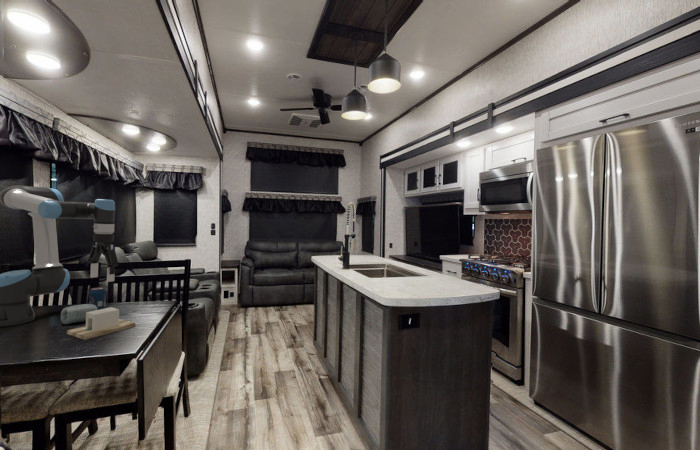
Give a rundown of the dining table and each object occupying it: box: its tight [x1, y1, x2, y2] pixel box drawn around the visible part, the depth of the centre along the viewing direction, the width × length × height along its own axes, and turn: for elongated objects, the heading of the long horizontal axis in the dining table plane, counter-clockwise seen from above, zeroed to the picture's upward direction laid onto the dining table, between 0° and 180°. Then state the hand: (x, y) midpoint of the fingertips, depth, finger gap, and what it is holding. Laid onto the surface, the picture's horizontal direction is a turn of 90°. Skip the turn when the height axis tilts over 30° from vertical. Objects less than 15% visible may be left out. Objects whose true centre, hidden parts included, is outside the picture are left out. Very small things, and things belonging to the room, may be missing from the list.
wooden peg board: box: [66, 318, 136, 341], centre depth 146 cm, size 14×20×6 cm
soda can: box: [88, 286, 107, 310], centre depth 174 cm, size 7×7×12 cm
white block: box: [85, 306, 120, 331], centre depth 146 cm, size 6×10×7 cm, turn 154°
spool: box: [60, 303, 97, 325], centre depth 156 cm, size 14×10×10 cm
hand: (102, 279), depth 150 cm, fingers open, 13 cm apart
